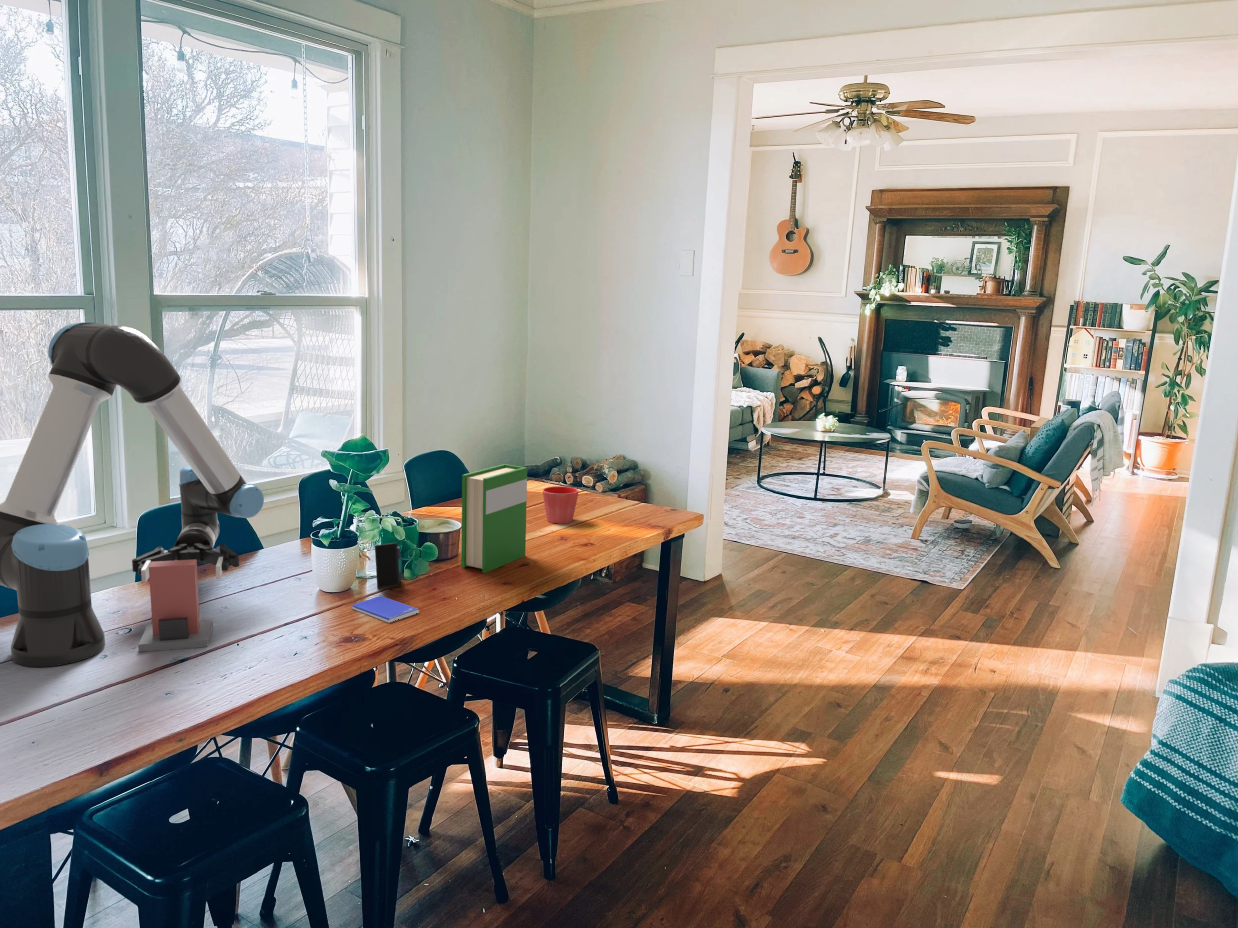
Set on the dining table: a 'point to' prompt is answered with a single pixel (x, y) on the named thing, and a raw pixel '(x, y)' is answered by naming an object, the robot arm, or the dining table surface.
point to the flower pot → (560, 503)
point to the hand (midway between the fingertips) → (181, 574)
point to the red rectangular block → (174, 592)
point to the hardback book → (493, 516)
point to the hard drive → (385, 609)
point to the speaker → (388, 565)
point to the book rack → (175, 635)
